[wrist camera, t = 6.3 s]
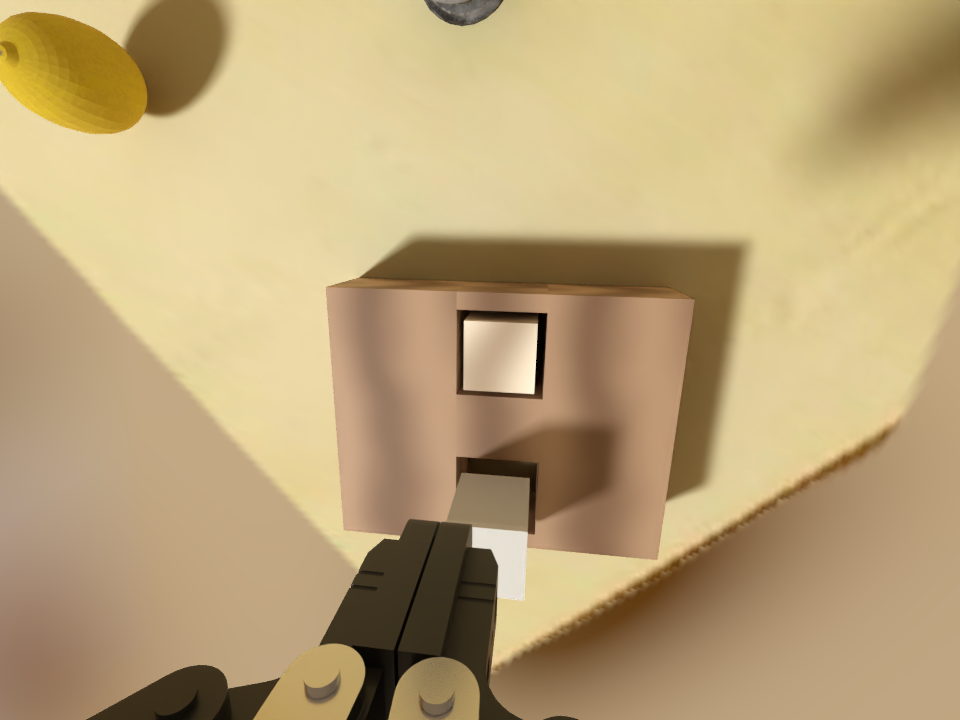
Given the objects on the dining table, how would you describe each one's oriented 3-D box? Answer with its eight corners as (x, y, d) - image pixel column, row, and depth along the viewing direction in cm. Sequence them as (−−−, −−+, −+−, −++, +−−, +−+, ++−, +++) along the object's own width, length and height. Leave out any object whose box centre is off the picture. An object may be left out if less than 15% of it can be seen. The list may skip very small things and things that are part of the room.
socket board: (669, 287, 29) (695, 299, 24) (640, 512, 33) (657, 559, 29) (358, 277, 31) (325, 287, 26) (370, 489, 36) (343, 530, 31)
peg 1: (538, 308, 30) (537, 323, 25) (535, 368, 31) (534, 394, 26) (475, 305, 30) (463, 320, 25) (475, 365, 31) (463, 389, 26)
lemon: (124, 156, 31) (-13, 133, 23) (82, 67, 30) (-77, 12, 22) (192, 125, 30) (73, 91, 22) (152, 32, 29) (10, -39, 21)
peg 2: (529, 478, 27) (527, 532, 22) (526, 537, 28) (524, 600, 23) (461, 472, 27) (445, 524, 23) (461, 531, 29) (445, 592, 24)
